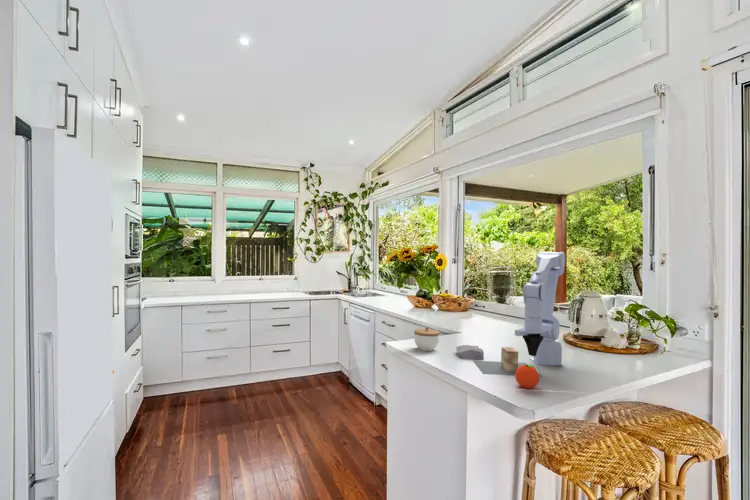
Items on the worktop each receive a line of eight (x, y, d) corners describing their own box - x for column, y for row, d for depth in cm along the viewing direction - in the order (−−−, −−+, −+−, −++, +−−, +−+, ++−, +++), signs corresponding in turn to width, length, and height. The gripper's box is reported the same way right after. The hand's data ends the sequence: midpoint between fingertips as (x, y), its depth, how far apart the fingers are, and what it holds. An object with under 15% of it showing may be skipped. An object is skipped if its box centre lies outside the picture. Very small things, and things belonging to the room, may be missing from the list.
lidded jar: (429, 345, 164) (430, 324, 164) (444, 351, 154) (444, 328, 154) (409, 347, 159) (409, 325, 159) (422, 353, 149) (423, 330, 150)
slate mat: (525, 363, 139) (525, 362, 139) (543, 377, 123) (543, 376, 123) (472, 361, 140) (472, 360, 140) (483, 374, 124) (483, 373, 124)
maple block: (512, 366, 133) (512, 347, 134) (517, 371, 127) (518, 351, 128) (501, 366, 134) (501, 347, 134) (506, 371, 128) (506, 351, 128)
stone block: (461, 364, 142) (486, 360, 142) (458, 352, 142) (484, 348, 142) (454, 357, 154) (478, 353, 154) (452, 346, 154) (476, 342, 154)
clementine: (533, 383, 117) (534, 361, 117) (547, 391, 110) (547, 367, 110) (510, 384, 115) (511, 361, 115) (522, 392, 108) (523, 368, 109)
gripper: (540, 314, 137) (539, 351, 137) (509, 315, 132) (508, 353, 131) (555, 317, 130) (554, 356, 130) (523, 319, 125) (522, 358, 125)
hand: (532, 355), depth 130 cm, fingers closed
